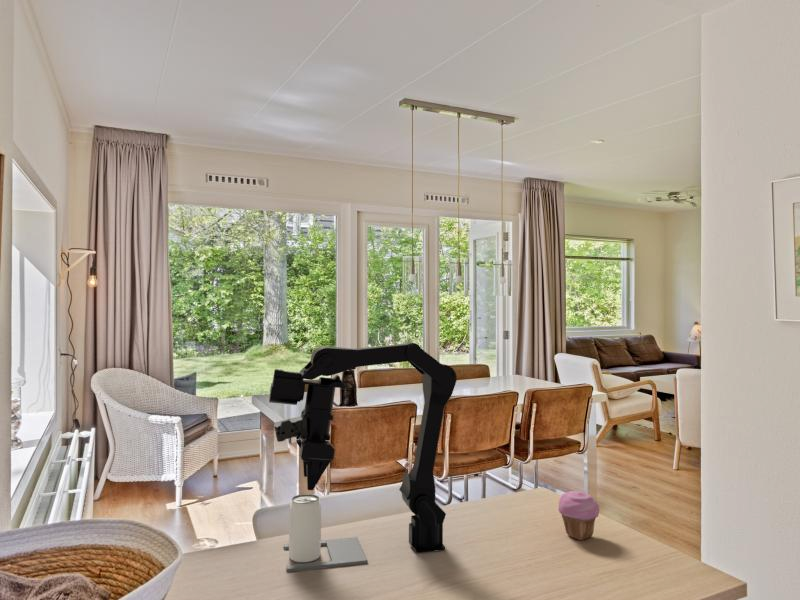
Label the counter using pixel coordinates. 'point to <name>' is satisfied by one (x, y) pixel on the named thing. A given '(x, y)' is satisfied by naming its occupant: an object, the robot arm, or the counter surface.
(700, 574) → the counter surface
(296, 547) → the can
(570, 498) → the cupcake
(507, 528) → the counter surface
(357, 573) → the counter surface
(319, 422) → the robot arm
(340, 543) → the board
